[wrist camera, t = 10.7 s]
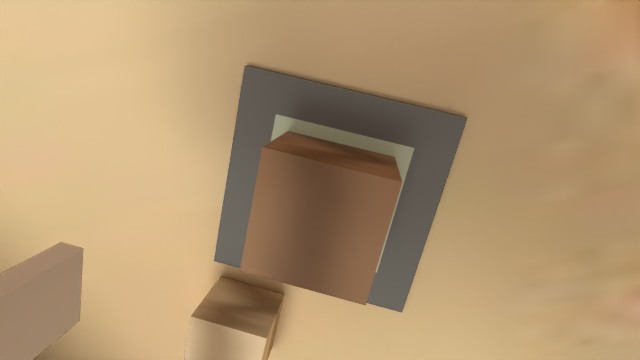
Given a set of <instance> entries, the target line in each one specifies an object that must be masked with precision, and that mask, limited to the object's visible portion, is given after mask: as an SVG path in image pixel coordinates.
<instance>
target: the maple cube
mask: <svg viewBox="0 0 640 360" xmlns="http://www.w3.org/2000/svg"><path fill="white" fill-rule="evenodd" d="M283 298H284V294H280V293H277V292H273V291H270V290H266V289H263V288H259V287H256V286H252V285H249V284H245V283H242V282H238V281H235V280H231V279H228V278H224V277H220V278H219V280H218V281H217V282H216V284H215V285H214V286H213V287H212V289H211V290H210V291H209V293H208V294H207V295H206V297H205V298H204V299H203V301H202V302H201V303H200V305H199V306H198V307H197V309H196V310H195V311H194V313H193V314H192V315H191V318H190V324H189V331H188V337H187V344H186V350H185V356H184V360H268V357H269V354H270V351H271V349H272V345H273V340H274V336H275V332H276V328H277V323H278V319H279V315H280V311H281V307H282V302H283Z"/></svg>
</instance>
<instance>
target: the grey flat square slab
mask: <svg viewBox="0 0 640 360" xmlns="http://www.w3.org/2000/svg"><path fill="white" fill-rule="evenodd" d="M466 121H467V118H466V117H462V116H458V115H454V114H449V113H445V112H441V111H437V110H432V109H428V108H424V107H420V106H416V105H411V104H407V103H403V102H399V101H394V100H390V99H386V98H382V97H378V96H373V95H369V94H365V93H361V92H356V91H352V90H348V89H344V88H339V87H335V86H331V85H327V84H323V83H318V82H314V81H310V80H306V79H301V78H297V77H293V76H289V75H284V74H280V73H276V72H272V71H268V70H263V69H259V68H255V67H251V66H245V68H244V75H243V81H242V87H241V94H240V100H239V106H238V112H237V119H236V125H235V131H234V138H233V144H232V150H231V157H230V163H229V169H228V176H227V182H226V188H225V195H224V201H223V207H222V214H221V220H220V226H219V233H218V239H217V245H216V252H215V258H214V261H216V262H219V263H223V264H227V265H230V266H234V267H238V268H240V267H241V262H242V256H243V250H244V245H245V239H246V234H247V228H248V223H249V217H250V212H251V206H252V201H253V195H254V190H255V184H256V178H257V173H258V167H259V162H260V156H261V151H262V147H263V146H265V145H266V144H268V143H270V142H271V141H273V140H274V139H276V138H278V137H279V136H281V135H282V134H284V133H286V132H287V131H291V132H295V133H299V134H303V135H307V136H311V137H315V138H319V139H323V140H328V141H332V142H336V143H340V144H344V145H348V146H352V147H356V148H360V149H364V150H368V151H372V152H376V153H381V154H385V155H389V156H393V157H395V159H396V163H397V166H398V169H399V172H400V176H401V179H402V185H401V189H400V192H399V195H398V199H397V202H396V205H395V209H394V212H393V215H392V219H391V222H390V225H389V229H388V232H387V235H386V239H385V242H384V245H383V249H382V252H381V255H380V259H379V262H378V265H377V269H376V272H375V275H374V279H373V282H372V285H371V289H370V292H369V295H368V299H367V302H366V303H369V304H373V305H376V306H380V307H384V308H387V309H391V310H395V311H398V312H402V311H403V308H404V305H405V302H406V299H407V296H408V293H409V290H410V287H411V284H412V281H413V278H414V276H415V273H416V270H417V267H418V264H419V261H420V258H421V255H422V252H423V249H424V246H425V243H426V240H427V237H428V234H429V231H430V228H431V225H432V222H433V219H434V216H435V213H436V210H437V207H438V204H439V201H440V198H441V195H442V192H443V189H444V186H445V183H446V180H447V177H448V174H449V171H450V168H451V165H452V162H453V159H454V156H455V153H456V151H457V148H458V145H459V142H460V139H461V136H462V133H463V130H464V127H465V124H466Z"/></svg>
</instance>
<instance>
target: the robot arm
mask: <svg viewBox="0 0 640 360" xmlns="http://www.w3.org/2000/svg"><path fill="white" fill-rule="evenodd" d="M82 265H83V248H81V247H77V246H73V245H70V244H66V243H63V242H60V243H58V244H56V245H54V246H52V247H50V248H49V249H47V250H45V251H43V252H41V253H39V254H37V255H35V256H33V257H31V258H29V259H27V260H26V261H24V262H22V263H20V264H18V265H16V266H14V267H12V268H10V269H8V270H6V271H5V272H3V273H1V274H0V360H33V359H34V358H35V357H36V356H38V355H39V354H40V353H41V352H42V351H44V350H45V349H46V348H47V347H49V346H50V345H51V344H52V343H53V342H55V341H56V340H57V339H58V338H59V337H61V336H62V335H63V334H64V333H65V332H67V331H68V330H69V329H70V328H72V327H73V326H74V325H75V324H76V323H78V322H79V321H80V306H81V286H82Z"/></svg>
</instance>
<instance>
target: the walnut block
mask: <svg viewBox="0 0 640 360" xmlns="http://www.w3.org/2000/svg"><path fill="white" fill-rule="evenodd" d="M401 185H402V179H401V176H400V172H399V169H398V166H397V163H396V159H395V157H393V156H389V155H385V154H381V153H376V152H372V151H368V150H364V149H360V148H356V147H352V146H348V145H344V144H340V143H336V142H332V141H328V140H323V139H319V138H315V137H311V136H307V135H303V134H299V133H295V132H291V131H287V132H286V133H284V134H282V135H281V136H279V137H278V138H276V139H274V140H273V141H271V142H270V143H268V144H266V145H265V146H263V147H262V151H261V156H260V162H259V167H258V173H257V178H256V184H255V190H254V195H253V201H252V206H251V212H250V217H249V223H248V228H247V234H246V239H245V245H244V250H243V256H242V262H241V267H240V271H242V272H246V273H250V274H253V275H257V276H261V277H264V278H268V279H272V280H275V281H279V282H283V283H286V284H290V285H293V286H297V287H301V288H304V289H308V290H312V291H315V292H319V293H323V294H326V295H330V296H334V297H337V298H341V299H345V300H348V301H352V302H356V303H359V304H363V305H366V302H367V299H368V295H369V292H370V289H371V285H372V282H373V279H374V275H375V272H376V269H377V265H378V262H379V259H380V255H381V252H382V249H383V245H384V242H385V239H386V235H387V232H388V229H389V225H390V222H391V219H392V215H393V212H394V209H395V205H396V202H397V199H398V195H399V192H400V189H401Z"/></svg>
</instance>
